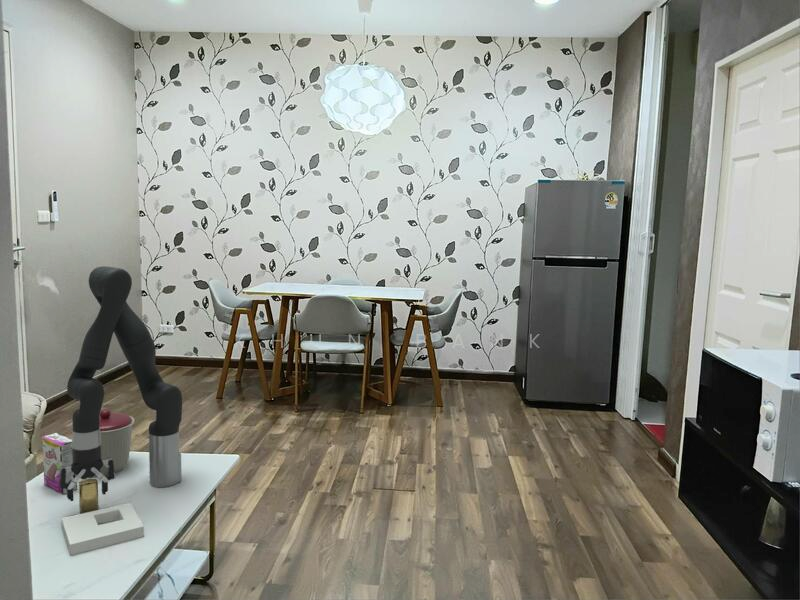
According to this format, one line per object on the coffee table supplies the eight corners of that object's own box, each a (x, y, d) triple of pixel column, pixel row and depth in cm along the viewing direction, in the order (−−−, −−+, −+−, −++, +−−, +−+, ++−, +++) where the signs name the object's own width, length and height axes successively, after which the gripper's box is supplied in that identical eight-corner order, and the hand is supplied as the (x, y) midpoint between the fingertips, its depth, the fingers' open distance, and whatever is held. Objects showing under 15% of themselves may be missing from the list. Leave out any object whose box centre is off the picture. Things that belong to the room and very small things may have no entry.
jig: (130, 512, 182) (130, 502, 181) (143, 536, 169) (143, 526, 169) (61, 528, 171) (61, 518, 171) (70, 555, 159) (70, 544, 158)
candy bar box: (42, 485, 196) (40, 436, 194) (58, 480, 201) (56, 432, 198) (62, 495, 191) (60, 444, 188) (78, 489, 195) (76, 440, 192)
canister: (127, 479, 203) (126, 418, 200) (68, 480, 200) (66, 418, 197) (141, 457, 221) (139, 400, 218) (87, 458, 218) (85, 401, 215)
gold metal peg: (96, 505, 185) (96, 477, 184) (100, 512, 181) (99, 483, 180) (78, 509, 182) (77, 480, 181) (81, 516, 178) (80, 487, 177)
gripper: (110, 435, 186) (111, 486, 188) (57, 444, 178) (58, 497, 180) (115, 444, 180) (116, 496, 182) (60, 452, 172) (62, 507, 174)
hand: (87, 496), depth 181 cm, fingers open, 8 cm apart
